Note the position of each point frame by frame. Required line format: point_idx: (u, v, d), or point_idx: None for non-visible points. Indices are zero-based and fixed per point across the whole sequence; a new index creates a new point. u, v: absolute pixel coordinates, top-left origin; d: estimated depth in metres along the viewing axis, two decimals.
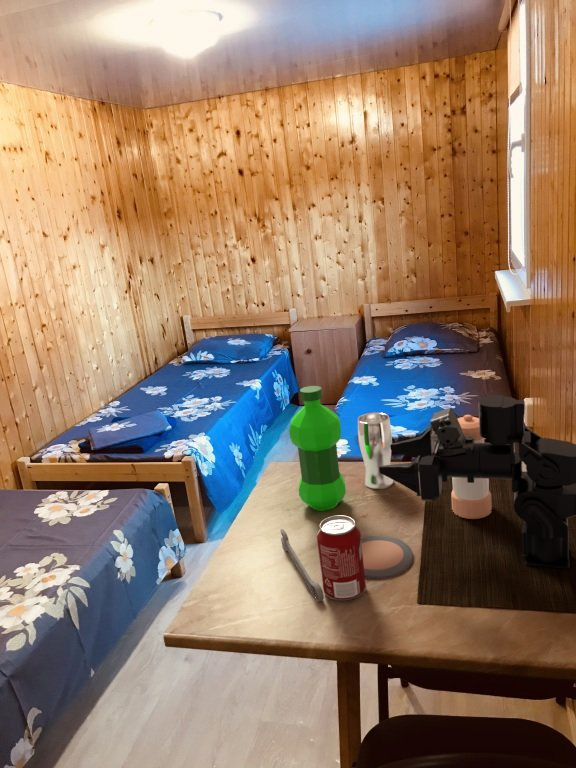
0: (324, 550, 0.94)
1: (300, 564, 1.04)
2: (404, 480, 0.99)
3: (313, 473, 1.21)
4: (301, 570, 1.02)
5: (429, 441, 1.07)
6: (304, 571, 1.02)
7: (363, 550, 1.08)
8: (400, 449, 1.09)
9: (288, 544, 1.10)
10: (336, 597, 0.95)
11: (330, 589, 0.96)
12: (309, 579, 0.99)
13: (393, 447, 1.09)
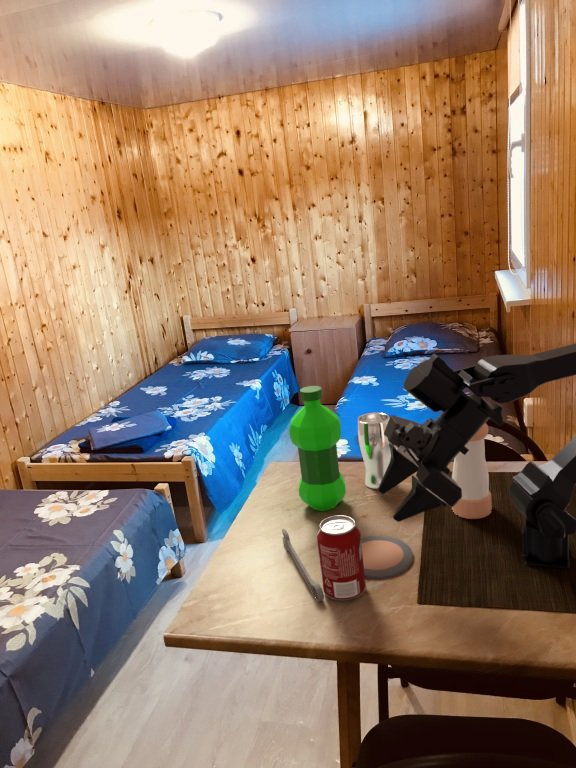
0: (324, 550, 0.94)
1: (301, 564, 1.04)
2: (422, 506, 0.89)
3: (313, 473, 1.21)
4: (302, 570, 1.02)
5: (402, 456, 0.99)
6: (305, 571, 1.02)
7: (363, 550, 1.08)
8: (388, 485, 0.99)
9: (289, 544, 1.10)
10: (336, 597, 0.95)
11: (330, 589, 0.96)
12: (309, 579, 0.99)
13: (382, 490, 1.00)
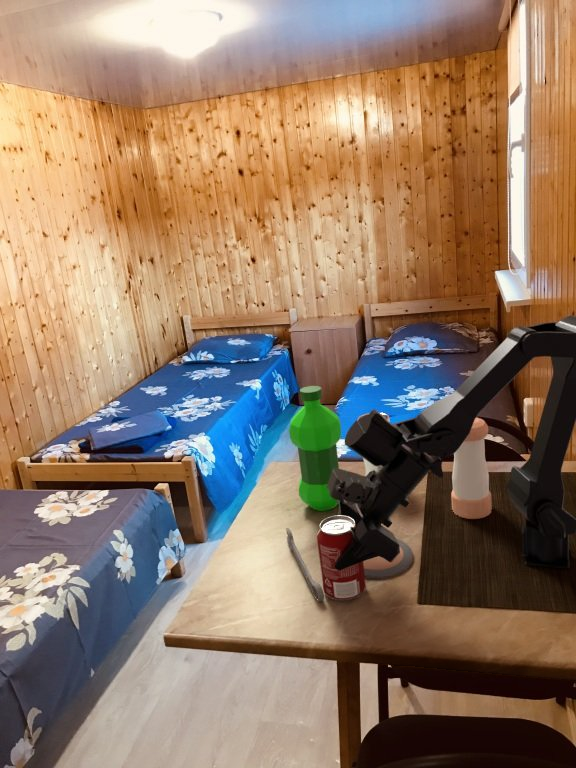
0: (324, 550, 0.94)
1: (303, 563, 1.04)
2: (361, 556, 0.92)
3: (313, 473, 1.21)
4: (303, 569, 1.03)
5: (349, 508, 0.99)
6: (306, 571, 1.02)
7: None
8: None
9: (293, 543, 1.10)
10: (336, 597, 0.95)
11: (330, 589, 0.96)
12: (310, 579, 0.99)
13: None
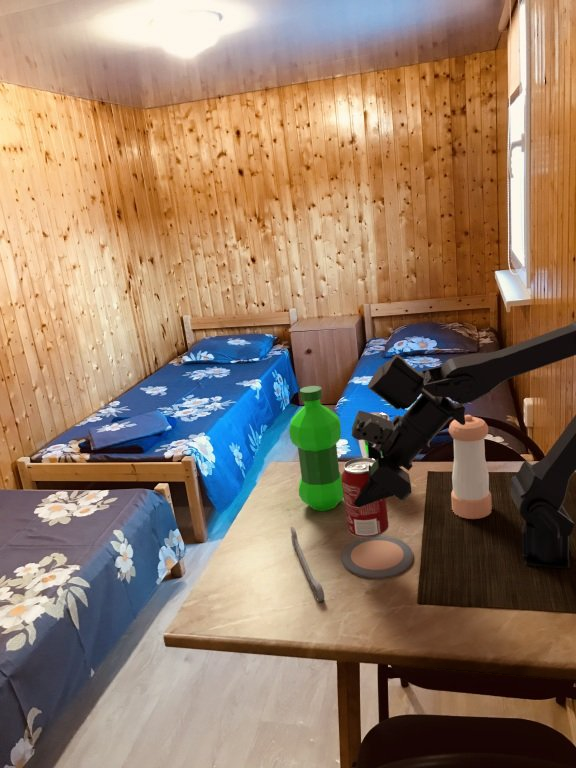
0: (346, 487, 0.99)
1: (305, 563, 1.04)
2: (378, 494, 0.96)
3: (313, 473, 1.21)
4: (305, 569, 1.03)
5: (377, 452, 1.03)
6: (308, 570, 1.02)
7: (363, 550, 1.08)
8: None
9: (296, 542, 1.10)
10: (357, 534, 1.00)
11: (352, 526, 1.00)
12: (312, 578, 0.99)
13: None
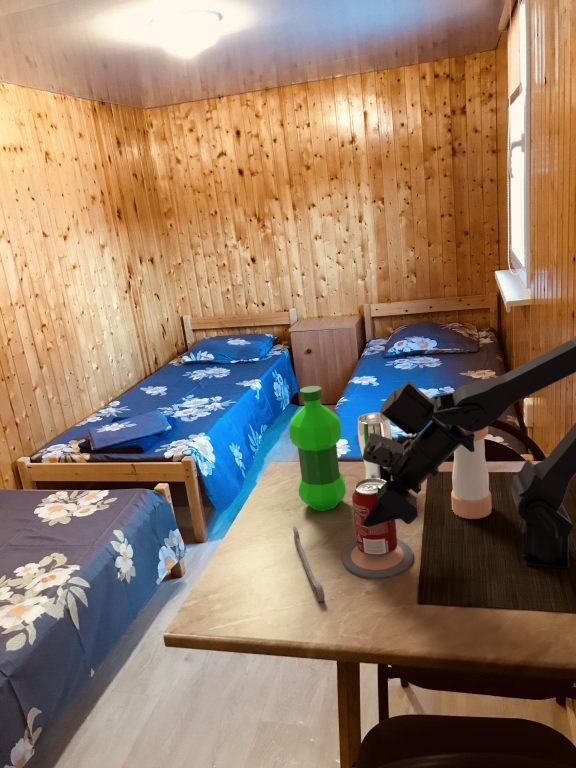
0: (356, 507, 1.02)
1: (306, 563, 1.04)
2: (387, 516, 0.98)
3: (313, 473, 1.21)
4: (306, 569, 1.03)
5: (388, 473, 1.05)
6: (309, 570, 1.02)
7: None
8: None
9: (298, 542, 1.10)
10: (365, 552, 1.03)
11: (361, 544, 1.03)
12: (312, 578, 0.99)
13: None
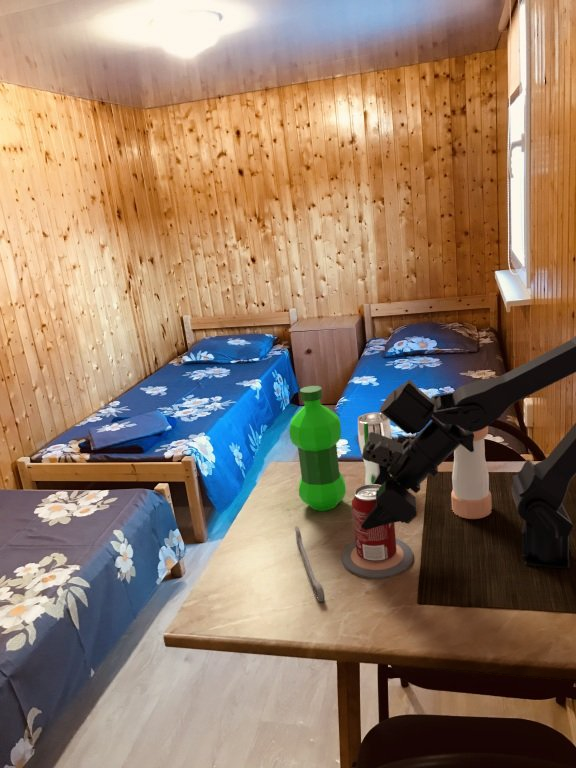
0: (356, 513, 1.02)
1: (307, 562, 1.04)
2: (385, 519, 0.97)
3: (313, 473, 1.21)
4: (307, 569, 1.03)
5: None
6: (310, 570, 1.02)
7: None
8: None
9: (300, 541, 1.10)
10: (365, 558, 1.03)
11: (360, 550, 1.04)
12: (313, 578, 0.99)
13: None
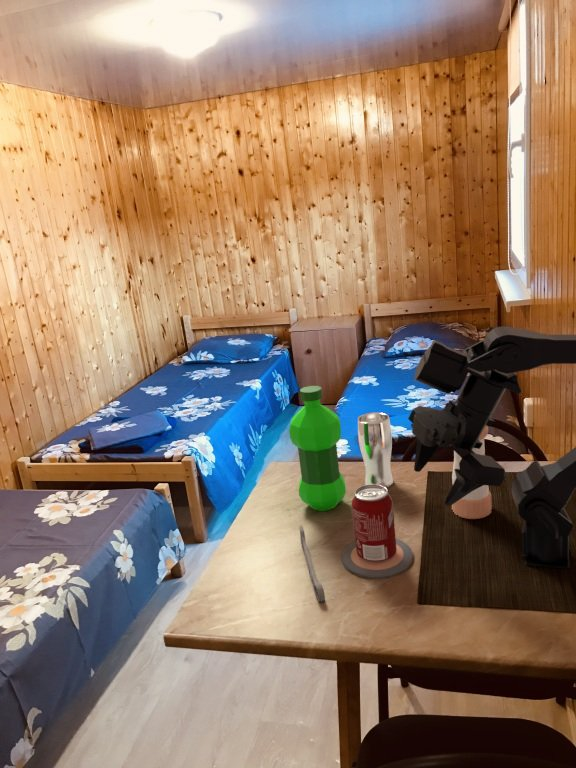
0: (355, 513, 1.02)
1: (309, 562, 1.04)
2: (469, 488, 0.95)
3: (313, 473, 1.21)
4: (309, 568, 1.03)
5: None
6: (311, 570, 1.02)
7: None
8: (423, 463, 1.04)
9: (304, 541, 1.10)
10: (365, 558, 1.03)
11: (360, 550, 1.04)
12: (314, 578, 0.99)
13: (418, 469, 1.04)
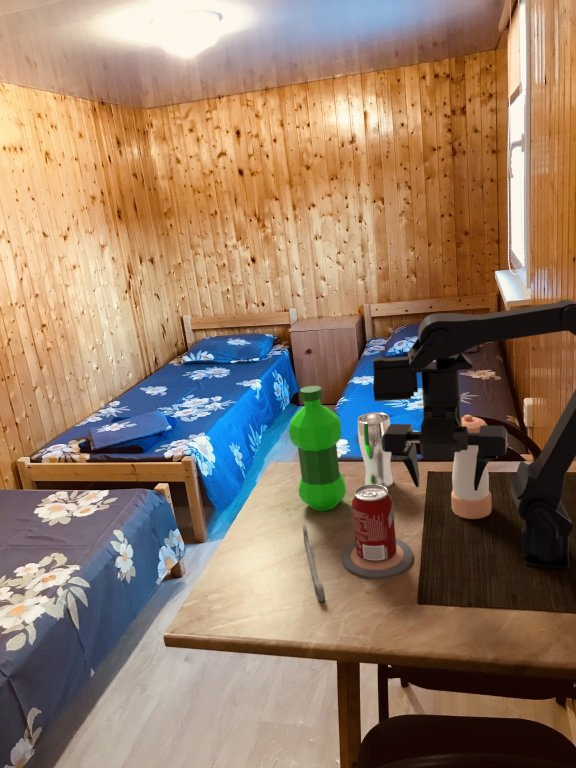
0: (355, 513, 1.02)
1: (311, 562, 1.04)
2: None
3: (313, 473, 1.21)
4: (311, 568, 1.03)
5: (410, 450, 0.99)
6: (313, 569, 1.02)
7: None
8: (418, 475, 1.01)
9: (306, 540, 1.10)
10: (365, 558, 1.03)
11: (360, 550, 1.04)
12: (315, 578, 0.99)
13: (418, 483, 1.01)
